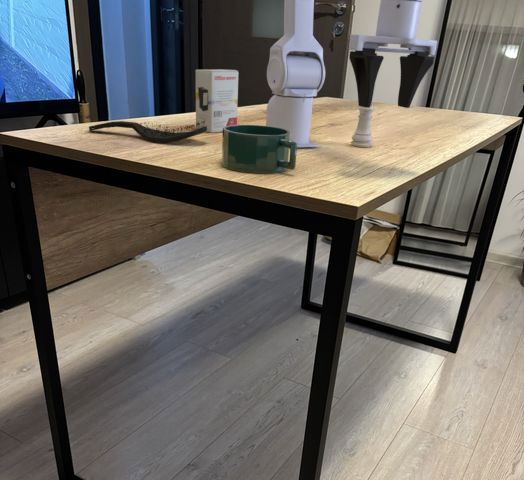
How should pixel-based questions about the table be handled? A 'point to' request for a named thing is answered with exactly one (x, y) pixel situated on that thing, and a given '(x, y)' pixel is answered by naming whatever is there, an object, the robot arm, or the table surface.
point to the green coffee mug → (257, 149)
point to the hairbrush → (154, 131)
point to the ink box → (216, 99)
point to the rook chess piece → (363, 128)
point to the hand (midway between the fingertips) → (384, 106)
